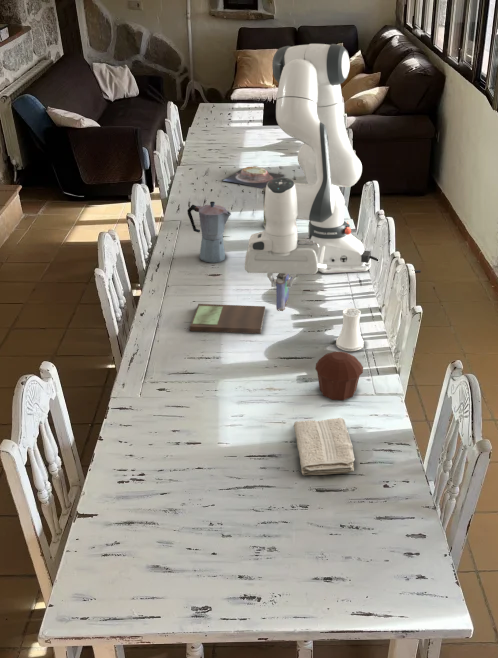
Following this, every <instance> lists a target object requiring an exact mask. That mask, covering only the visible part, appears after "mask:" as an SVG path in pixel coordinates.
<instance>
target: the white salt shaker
mask: <svg viewBox="0 0 498 658" xmlns="http://www.w3.org/2000/svg"><path fill="white" fill-rule="evenodd" d="M360 319H361V310H360V309H358V308H354V307H347V308H345V309H343V310H342V326H341V331H340V333H339V336H338V337H337V338H336V340H335V346H336V347H337V348H338V349H340V350H343V351H344V352H356V351H359V350H361V349H362V348H364V344H365V341H364V339H363V338H362V336H361V331H360V330H361V329H360Z"/></svg>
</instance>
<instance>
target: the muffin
mask: <svg viewBox="0 0 498 658" xmlns="http://www.w3.org/2000/svg"><path fill="white" fill-rule="evenodd" d="M315 371H316V372H317V373H316V374H317V379H318V386H319V391H320V392H321V394H322V396H323V397H325V398H328V399H330V400H332V401H345V400H347V399H351V398H353V397H354V394H355V393H356V391H357V389H358V388H357V387H358V384H359V380H360V376H361V375H363V373H364V366H363V365H362V363H361V362H360V361H359V360H358V358H357V357H356V356H355V355H352V354H350V353H349V352H347V351H340V350H339V351H331V352H327V353H325V354H324V355H322V357H320V358H319V359H318V360H317V362H316V363H315Z"/></svg>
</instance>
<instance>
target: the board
mask: <svg viewBox="0 0 498 658" xmlns="http://www.w3.org/2000/svg"><path fill="white" fill-rule="evenodd" d="M265 314H266V306H265V305H243V304H242V305H239V304H215V303H213V304H211V303H210V304H209V303H198V304H197V306H196V308H195V312H194V314H193V317H192V320H191V323H190V325H189V331H190V332H207V333H208V332H210V333H233V334H234V333H235V334H260V335H261V334H262V330H263V325H264V320H265Z"/></svg>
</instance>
